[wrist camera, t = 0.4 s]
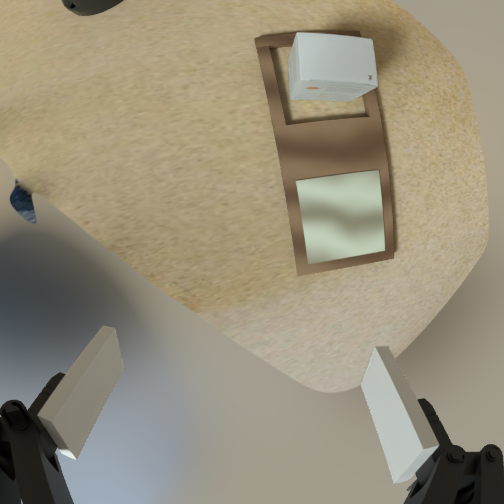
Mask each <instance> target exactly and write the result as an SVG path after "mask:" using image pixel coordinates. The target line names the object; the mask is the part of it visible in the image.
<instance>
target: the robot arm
mask: <svg viewBox="0 0 504 504" xmlns="http://www.w3.org/2000/svg"><path fill="white" fill-rule="evenodd" d="M121 1H123V0H62V2H63V4H64V6H65V7H66V8H67V9H68V10H70V11H72V12H73V13H75V14H77V15H81V16H89V15H94V14H98V13H101V12H103V11H106V10H108V9H110V8H112V7H114V6H115V5H117V4H118V3H120V2H121ZM123 369H124V365H123V361H122V357H121V352H120V348H119V344H118V339H117V333H116V329H115V328H112V327H107V326H102V327H101V329H100V330H99V331H98V333H97V334H96V335H95V336H94V338H93V339H92V340H91V342H90V343H89V344H88V345H87V347H86V348H85V349H84V351H83V352H82V353H81V355H80V356H79V357H78V359H77V360H76V361H75V363H74V364H73V365H72V367H71V368H70V369H69V371H68V372H67V373H66V374H63V373H58V374H57V375H55V376H54V377H52V378H51V379H50V381H49V382H48V383H47V384H46V387H44V388H43V390H42V392H41V393H40V394H39V395H38V397H37V398H36V399H35V401H34V402H33V404H32V405H31V406H30V408H29V409H28V411H27V409H26V407H25V406H24V404H23V403H22V402H21V401H18V400H10V401H7V402H6V403H4V404H3V405H2V407H1V408H0V415H1V417H0V504H21V499H22V502H23V504H74V503H73V500H72V498H71V495H70V493H69V490H68V487H67V485H66V482H65V479H64V476H63V473H62V470H61V467H60V464H59V461H58V458H57V455H56V453H55V451H56V449H57V447H58V448H59V450H60V451H61V453H62V454H64V455H66V456H68V457H71V458H73V459H76V460H77V458H78V456H79V454H80V452H81V450H82V448H83V446H84V444H85V442H86V440H87V438H88V436H89V434H90V432H91V430H92V428H93V426H94V424H95V422H96V420H97V418H98V416H99V414H100V412H101V410H102V408H103V407H104V405H105V403H106V401H107V399H108V397H109V395H110V393H111V391H112V390H113V388H114V386H115V384H116V382H117V380H118V379H119V377H120V375H121V373H122V371H123ZM361 387H362V390H363V393H364V395H365V398H366V401H367V404H368V407H369V409H370V412H371V415H372V418H373V421H374V423H375V426H376V429H377V432H378V435H379V438H380V441H381V444H382V447H383V451H384V453H385V457H386V460H387V463H388V466H389V469H390V473H391V476H392V479H393V482H394V483H399V482H403V481H407V480H409V479H410V478H411V477H412V476H413V475H414V474H416V477H417V480H416V481H415V482H414V483H413V484H412V485H411V486H410V487H409V488H408V489H407V491H409V490H410V489H411V491H410V492H409V494H408V497H407V498H406V500H405V502H404V504H504V465H503V455H502V451H501V450H500V448H499V447H497V446H496V445H493V444H489V445H486V446H484V448H482V450H481V451H480V452H465V450H464V449H463V448H461V447H460V446H457V445H453V444H452V443H451V441H450V439H449V437H448V435H447V433H446V431H445V429H444V427H443V425H442V423H441V421H439V417H438V416H437V415H436V412H435V410H434V408H433V406H432V405H431V404H430V403H429V402H428V401H427V400H426V399H424V398H423V399H418V400H417V398H416V397H415V395H414V393H413V391H412V389H411V387H410V385H409V383H408V382H407V380H406V378H405V376H404V374H403V372H402V370H401V369H400V367H399V365H398V363H397V361H396V360H395V358H394V356H393V354H392V352H391V351H390V349H389V347H388V346H381V347H375V348H374V351H373V354H372V357H371V360H370V362H369V365H368V368H367V371H366V373H365V376H364V378H363V381H362V384H361Z"/></svg>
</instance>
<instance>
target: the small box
mask: <svg viewBox="0 0 504 504" xmlns="http://www.w3.org/2000/svg"><path fill="white" fill-rule="evenodd" d="M288 71H289V87H290V99H291V100H328V101H346V102H350V101H352V100H354V99H356V98H358V97H360V96H362V95H363V94H365V93H367V92H369V91H371V90H373V89H375V88H377V87H378V80H377V70H376V62H375V54H374V47H373V40H372V39H369V38H363V37H355V36H347V35H337V34H325V33H308V32H297V33H296V36H295V39H294V43H293V46H292V49H291V53H290V57H289V60H288Z"/></svg>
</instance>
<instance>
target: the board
mask: <svg viewBox="0 0 504 504" xmlns="http://www.w3.org/2000/svg"><path fill="white" fill-rule="evenodd" d="M308 33H325V34H337V35H347V36H355V37H361V35H360V31H317V32H308ZM295 36H296V33H289V34H280V35H271V36H264V37H257V38H255V44H256V49H257V53H258V57H259V62H260V66H261V71H262V76H263V80H264V85H265V90H266V94H267V99H268V104H269V109H270V114H271V119H272V124H273V129H274V134H275V140H276V145H277V150H278V156H279V161H280V167H281V172H282V178H283V184H284V190H285V196H286V202H287V208H288V214H289V220H290V226H291V233H292V239H293V246H294V253H295V260H296V267H297V273H298V276H301V275H307V274H313V273H319V272H324V271H330V270H335V269H341V268H346V267H352V266H357V265H362V264H368V263H373V262H378V261H383V260H388V259H393V258H394V236H393V216H392V202H391V190H390V180H389V171H388V163H387V155H386V148H385V141H384V135H383V128H382V123H381V117H380V112H379V107H378V102H377V97H376V92H375V89H373V90H371V91H369V92H367V93H365V94H363V95H362V96H363V101H364V105H365V111H366V116H367V117H360V118H347V119H336V120H325V121H316V122H308V123H300V124H293V125H286V123H285V118H284V113H283V108H282V103H281V98H280V94H279V89H278V84H277V80H276V75H275V71H274V66H273V62H272V58H271V53H270V49H271V48H279V47H288V46H293V43H294V39H295Z"/></svg>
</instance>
